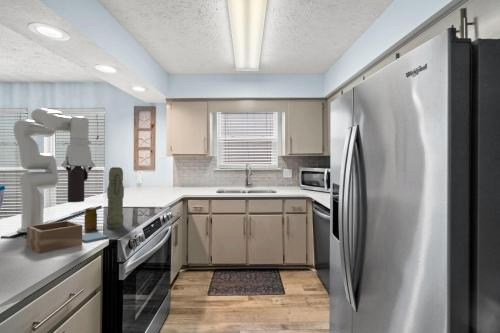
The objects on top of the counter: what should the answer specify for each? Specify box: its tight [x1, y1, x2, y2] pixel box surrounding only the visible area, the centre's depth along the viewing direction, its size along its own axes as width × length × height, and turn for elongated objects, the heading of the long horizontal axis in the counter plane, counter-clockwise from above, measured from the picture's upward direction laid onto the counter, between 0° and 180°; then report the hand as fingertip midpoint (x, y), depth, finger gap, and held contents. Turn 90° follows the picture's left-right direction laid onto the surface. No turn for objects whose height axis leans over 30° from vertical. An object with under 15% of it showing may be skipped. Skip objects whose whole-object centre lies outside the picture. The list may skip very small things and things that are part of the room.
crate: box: [26, 220, 83, 254], centre depth 126 cm, size 15×16×9 cm
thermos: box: [106, 166, 125, 230], centre depth 163 cm, size 9×12×35 cm
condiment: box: [82, 207, 103, 233], centre depth 155 cm, size 7×8×12 cm
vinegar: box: [67, 166, 85, 203], centre depth 133 cm, size 7×7×20 cm
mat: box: [82, 231, 109, 243], centre depth 139 cm, size 12×10×1 cm
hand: (78, 180), depth 133 cm, fingers closed on vinegar, 4 cm apart
